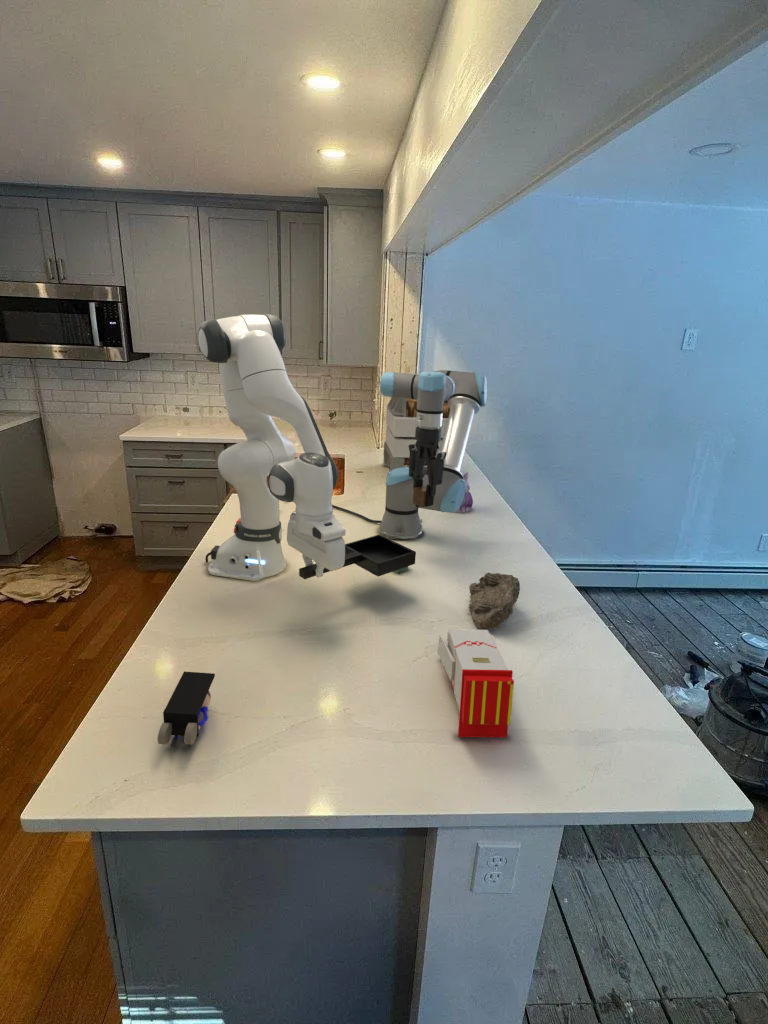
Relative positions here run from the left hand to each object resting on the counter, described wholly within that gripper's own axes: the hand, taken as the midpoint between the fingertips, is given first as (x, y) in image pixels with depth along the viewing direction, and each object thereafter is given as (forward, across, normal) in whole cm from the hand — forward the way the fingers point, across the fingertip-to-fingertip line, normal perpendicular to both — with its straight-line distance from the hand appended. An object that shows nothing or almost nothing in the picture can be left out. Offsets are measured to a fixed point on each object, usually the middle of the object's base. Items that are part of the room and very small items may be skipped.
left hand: (314, 573), depth 141 cm
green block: (+12, -8, +36) cm, 39 cm away
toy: (+12, +45, +9) cm, 47 cm away
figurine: (+12, -34, +94) cm, 101 cm away
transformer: (+12, -82, +116) cm, 143 cm away
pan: (+2, 0, +12) cm, 12 cm away
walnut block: (-7, -8, +45) cm, 46 cm away
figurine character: (+12, +20, -41) cm, 47 cm away
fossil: (+12, +26, +39) cm, 48 cm away
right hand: (-8, -8, +45) cm, 46 cm away
